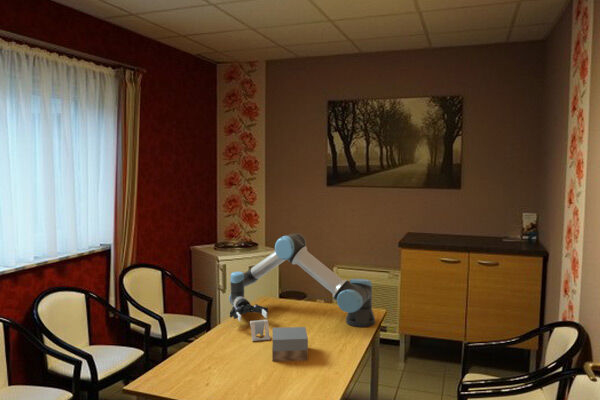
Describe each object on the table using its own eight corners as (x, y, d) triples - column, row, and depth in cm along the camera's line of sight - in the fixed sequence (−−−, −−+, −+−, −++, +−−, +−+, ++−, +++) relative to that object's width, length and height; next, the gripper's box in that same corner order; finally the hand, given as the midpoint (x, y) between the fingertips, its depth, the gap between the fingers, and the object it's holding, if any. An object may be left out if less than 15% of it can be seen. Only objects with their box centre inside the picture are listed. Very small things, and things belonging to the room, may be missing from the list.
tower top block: (305, 337, 224) (305, 326, 223) (307, 350, 209) (307, 338, 208) (272, 338, 223) (272, 327, 222) (272, 351, 208) (272, 339, 207)
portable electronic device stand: (252, 342, 230) (252, 325, 230) (249, 336, 238) (249, 319, 237) (270, 340, 233) (270, 323, 232) (267, 334, 240) (266, 318, 240)
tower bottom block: (305, 348, 224) (305, 337, 224) (307, 361, 209) (307, 350, 209) (272, 349, 223) (272, 338, 223) (272, 362, 208) (272, 351, 208)
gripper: (264, 309, 268) (277, 321, 249) (219, 314, 259) (229, 327, 239) (264, 296, 268) (277, 306, 248) (219, 300, 258) (229, 312, 239)
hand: (253, 317), depth 244 cm, fingers open, 13 cm apart
